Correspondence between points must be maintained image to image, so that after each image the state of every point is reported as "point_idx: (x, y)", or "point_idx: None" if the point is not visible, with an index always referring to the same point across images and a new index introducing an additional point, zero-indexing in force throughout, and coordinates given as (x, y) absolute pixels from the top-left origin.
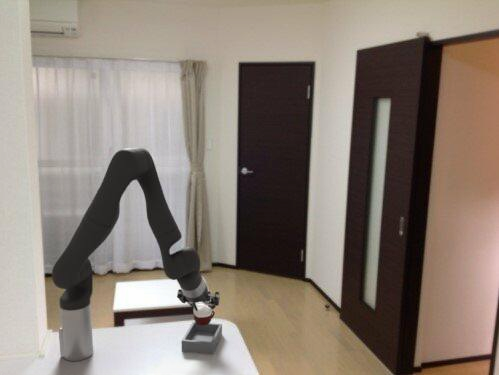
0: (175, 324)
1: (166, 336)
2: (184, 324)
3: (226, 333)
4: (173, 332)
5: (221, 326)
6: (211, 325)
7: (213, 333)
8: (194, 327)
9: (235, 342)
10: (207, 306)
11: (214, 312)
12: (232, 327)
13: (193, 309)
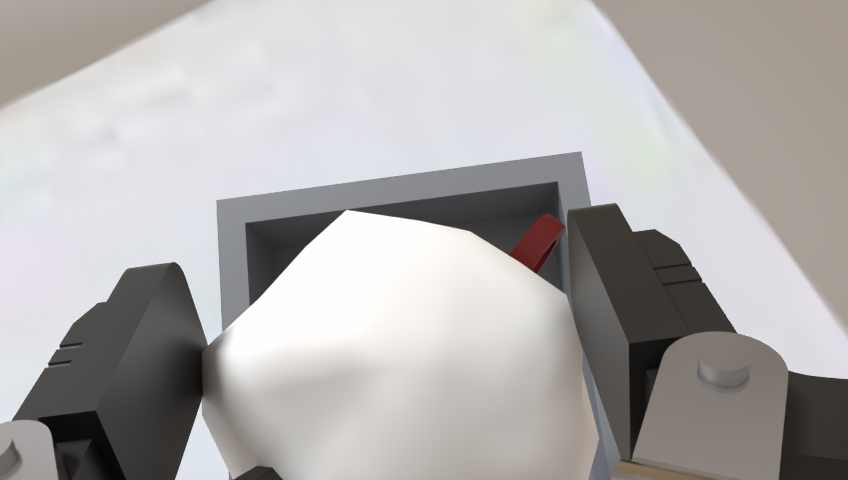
0: (28, 149)
1: (12, 408)
2: (117, 122)
3: (600, 159)
4: (59, 307)
5: (584, 184)
6: (459, 199)
7: (492, 244)
8: (261, 242)
9: (769, 304)
10: (473, 299)
11: (564, 228)
12: (611, 30)
13: (213, 433)
